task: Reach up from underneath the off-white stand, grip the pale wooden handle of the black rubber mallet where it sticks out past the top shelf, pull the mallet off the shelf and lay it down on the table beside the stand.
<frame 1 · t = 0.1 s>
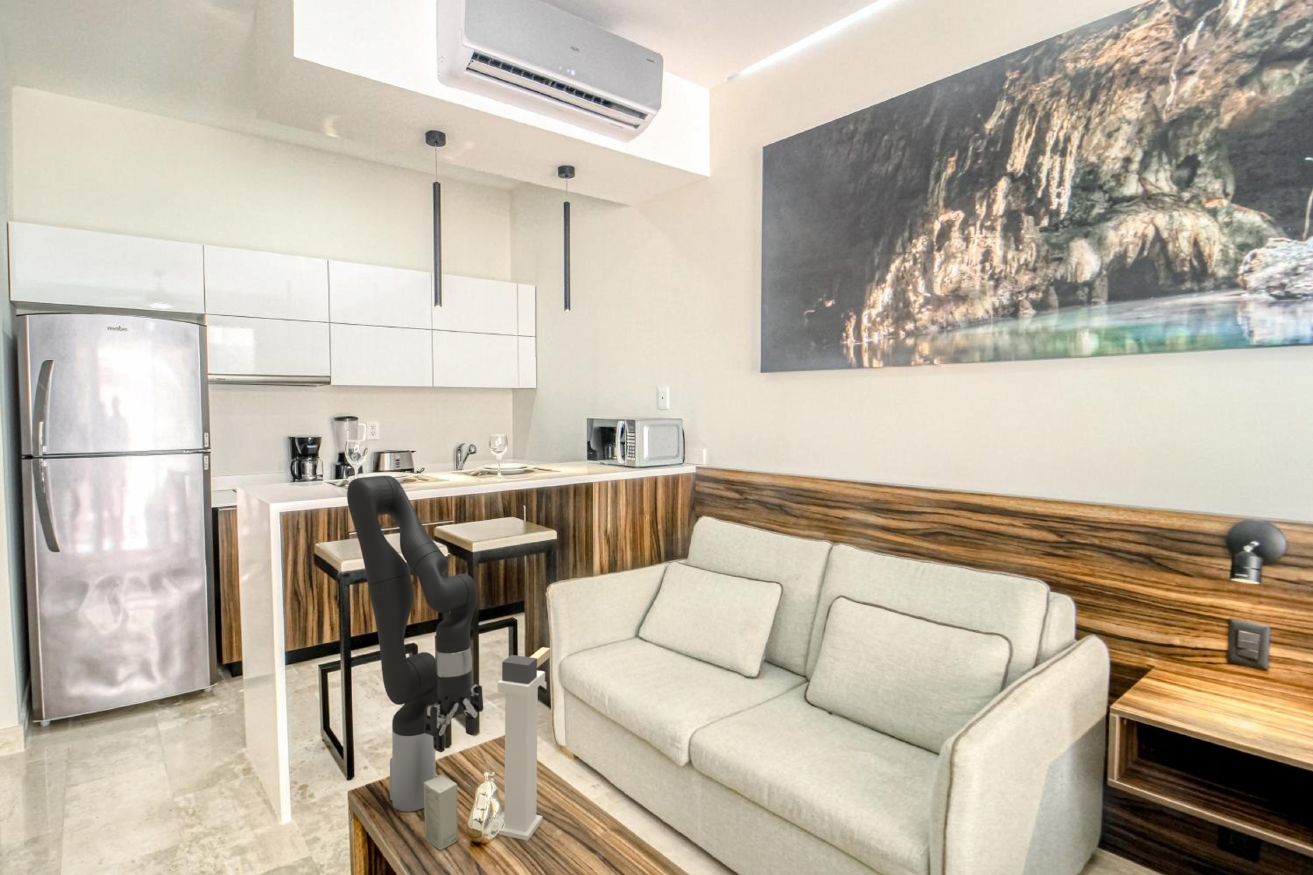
hand: (455, 742, 144), 17 cm above the table, tool pointing down, fingers open, 8 cm apart
rubber mallet: (531, 668, 145), point 33 cm above the table, touching pale stand
pale stand: (520, 827, 142), on the table
skincare box: (440, 840, 138), on the table
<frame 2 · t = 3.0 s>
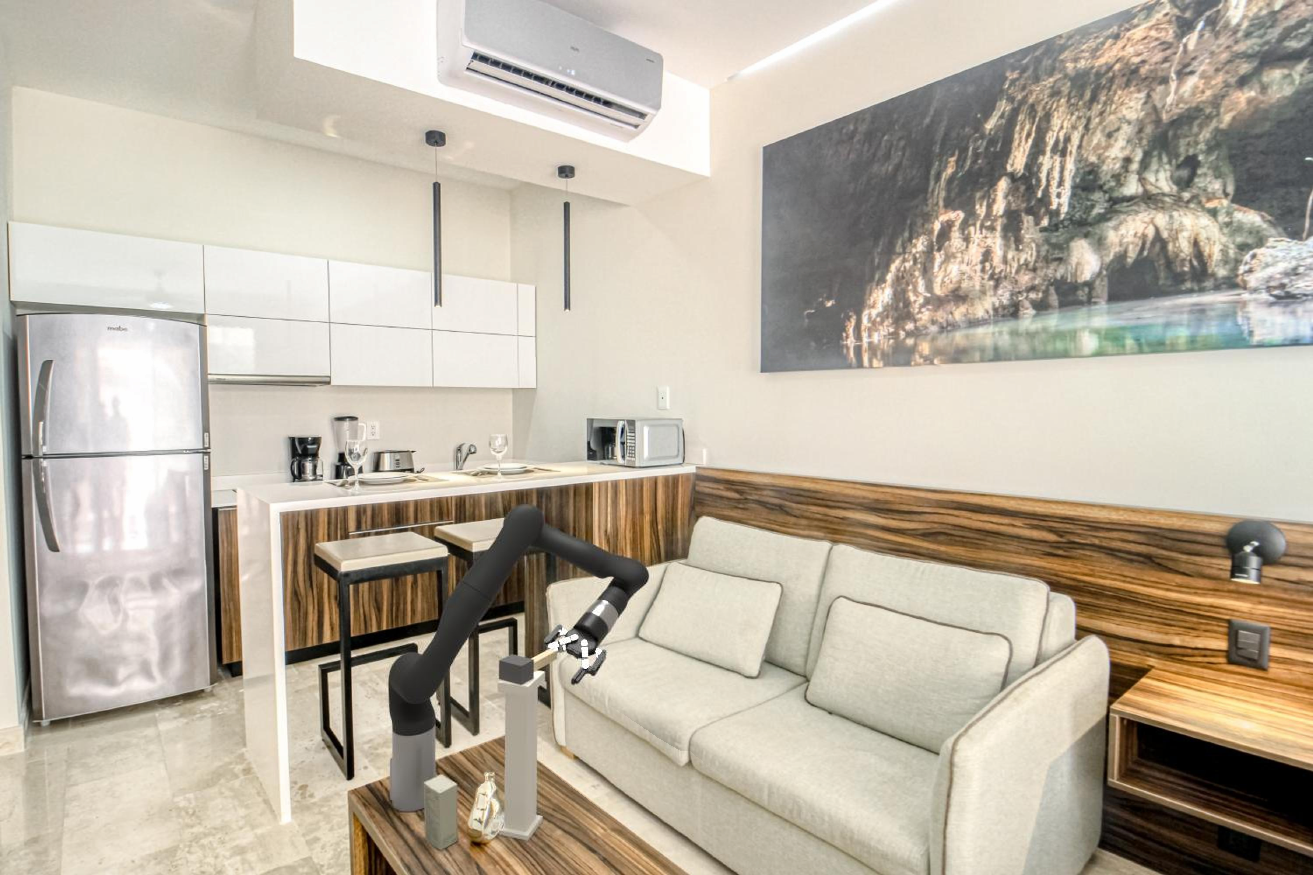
hand: (556, 673, 149), 30 cm above the table, tool tilted 60°, fingers open, 8 cm apart
rubber mallet: (532, 669, 144), point 33 cm above the table, touching gripper
everything else where it was.
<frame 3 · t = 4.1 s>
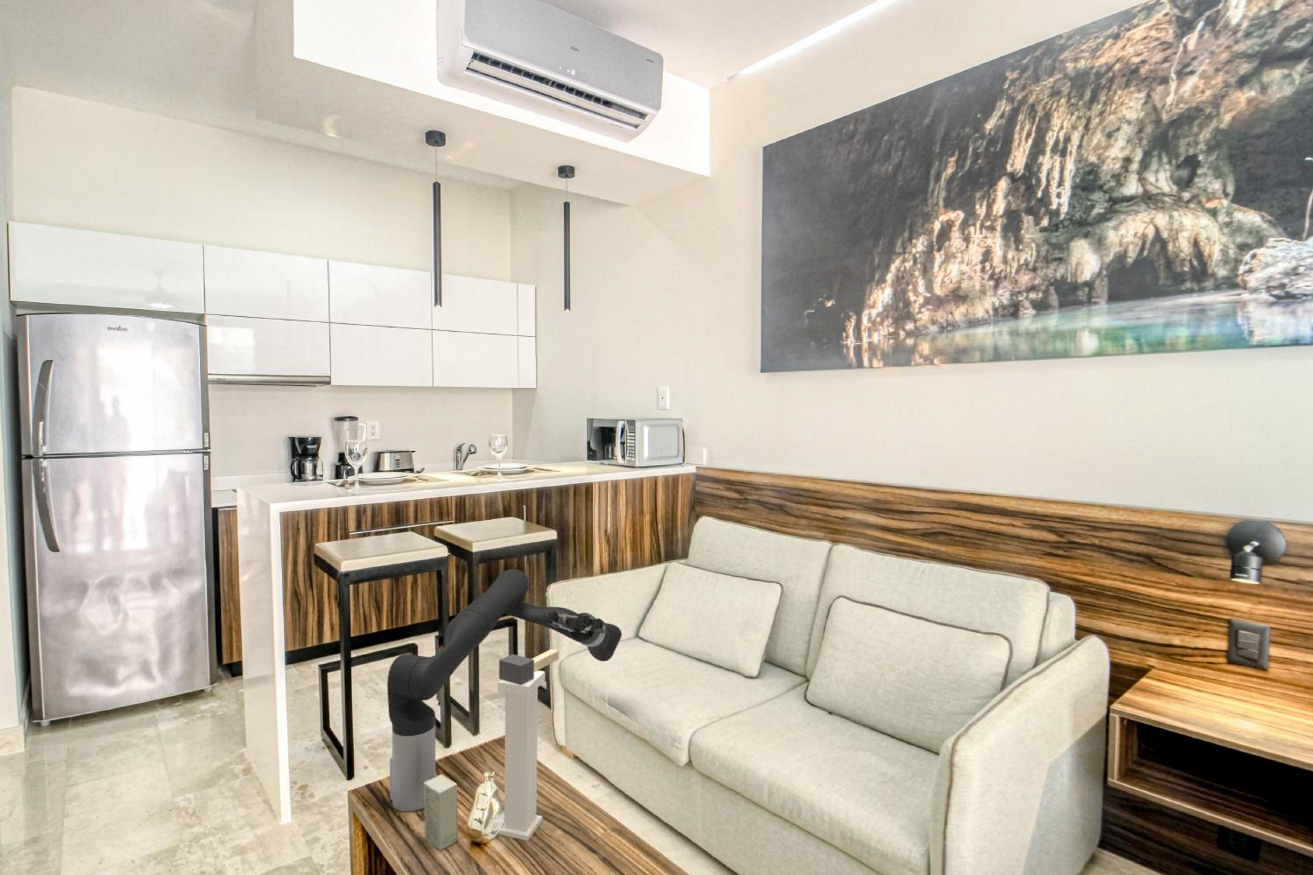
hand: (567, 616, 163), 38 cm above the table, tool pointing upward, fingers open, 8 cm apart
rubber mallet: (533, 669, 144), point 33 cm above the table, touching pale stand
everything else where it was.
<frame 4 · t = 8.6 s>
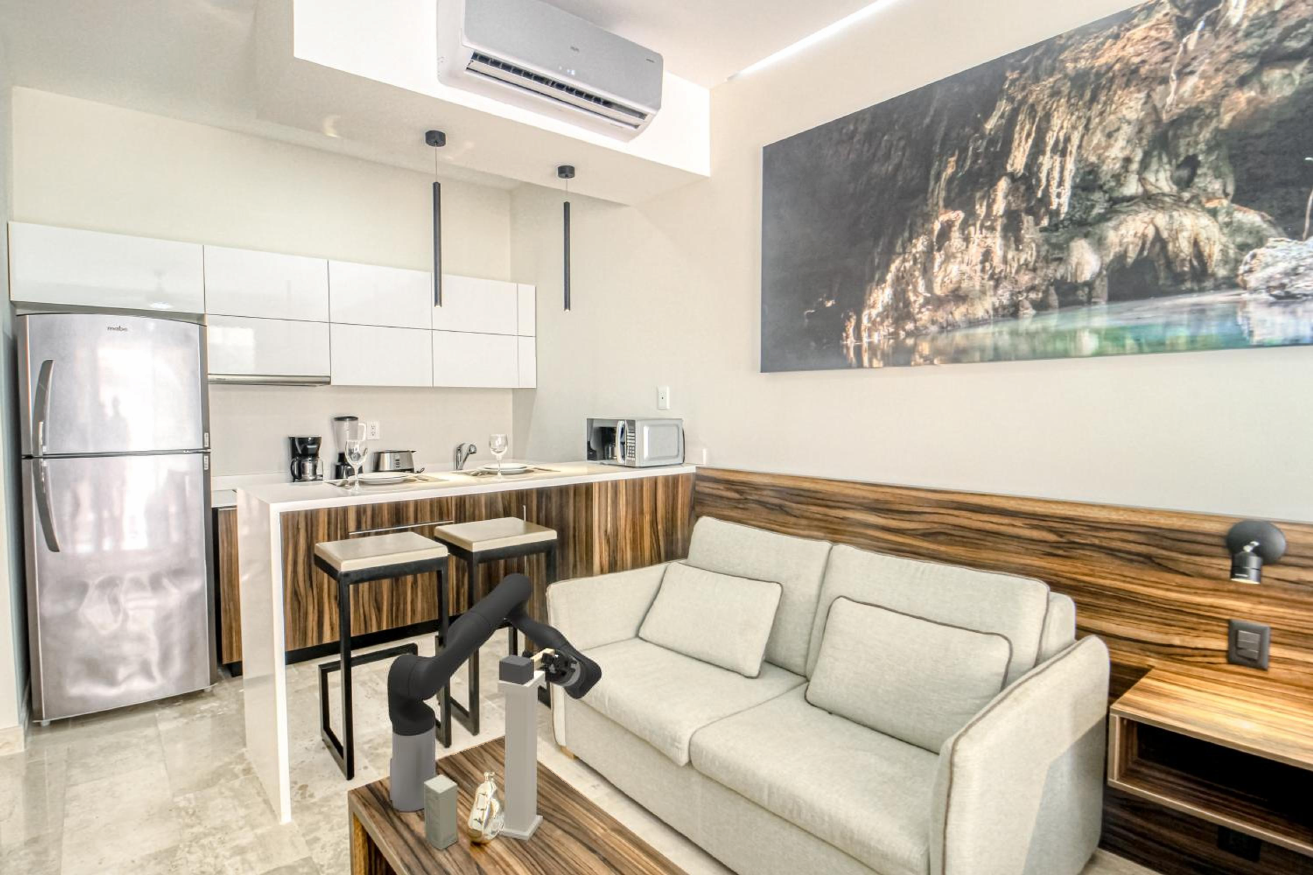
hand: (534, 656, 146), 35 cm above the table, tool pointing upward, fingers open, 4 cm apart
rubber mallet: (531, 669, 145), point 33 cm above the table
everything else where it was.
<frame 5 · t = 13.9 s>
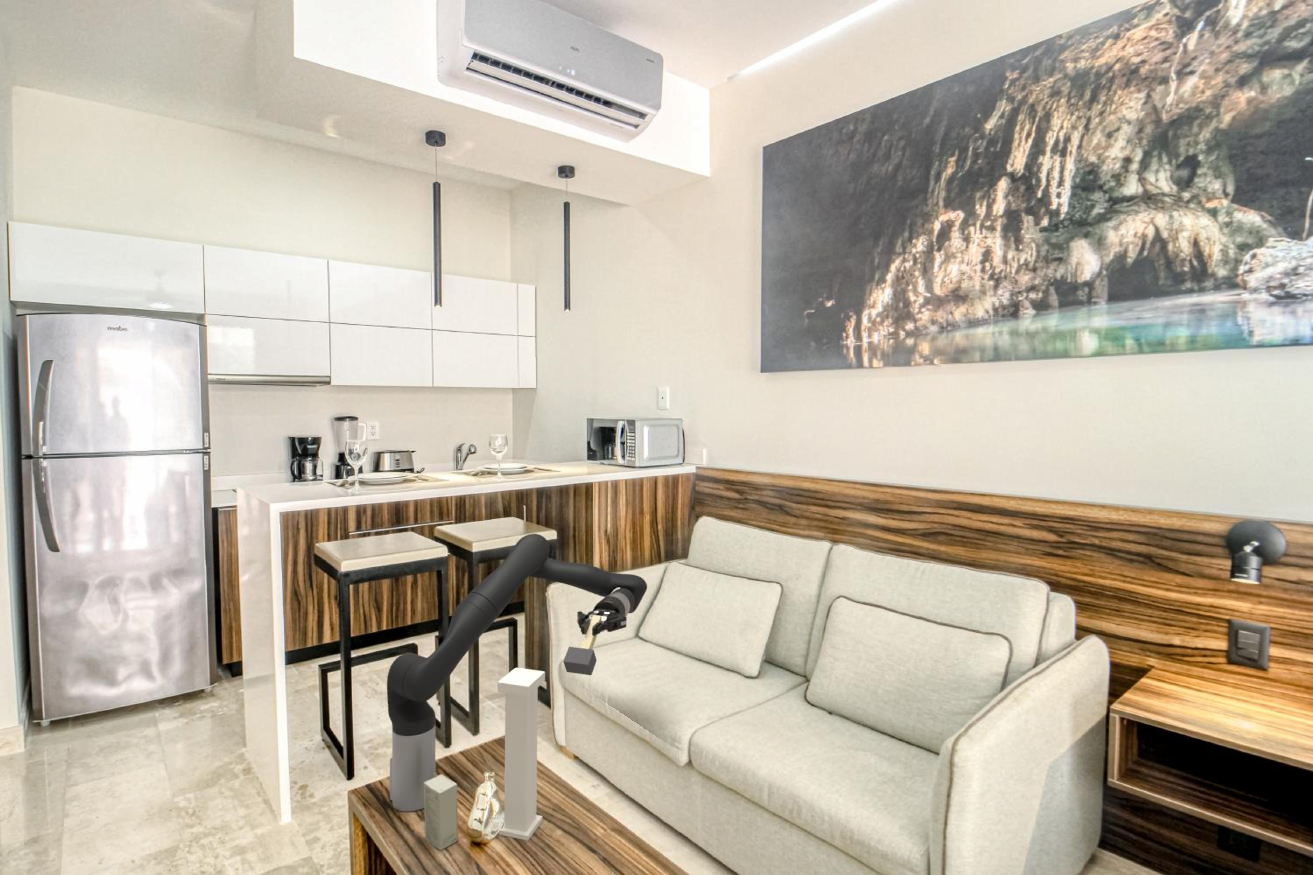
hand: (588, 630, 156), 38 cm above the table, tool horizontal, fingers closed on rubber mallet, 2 cm apart
rubber mallet: (589, 646, 157), point 34 cm above the table, tilted 34°, touching gripper
everything else where it was.
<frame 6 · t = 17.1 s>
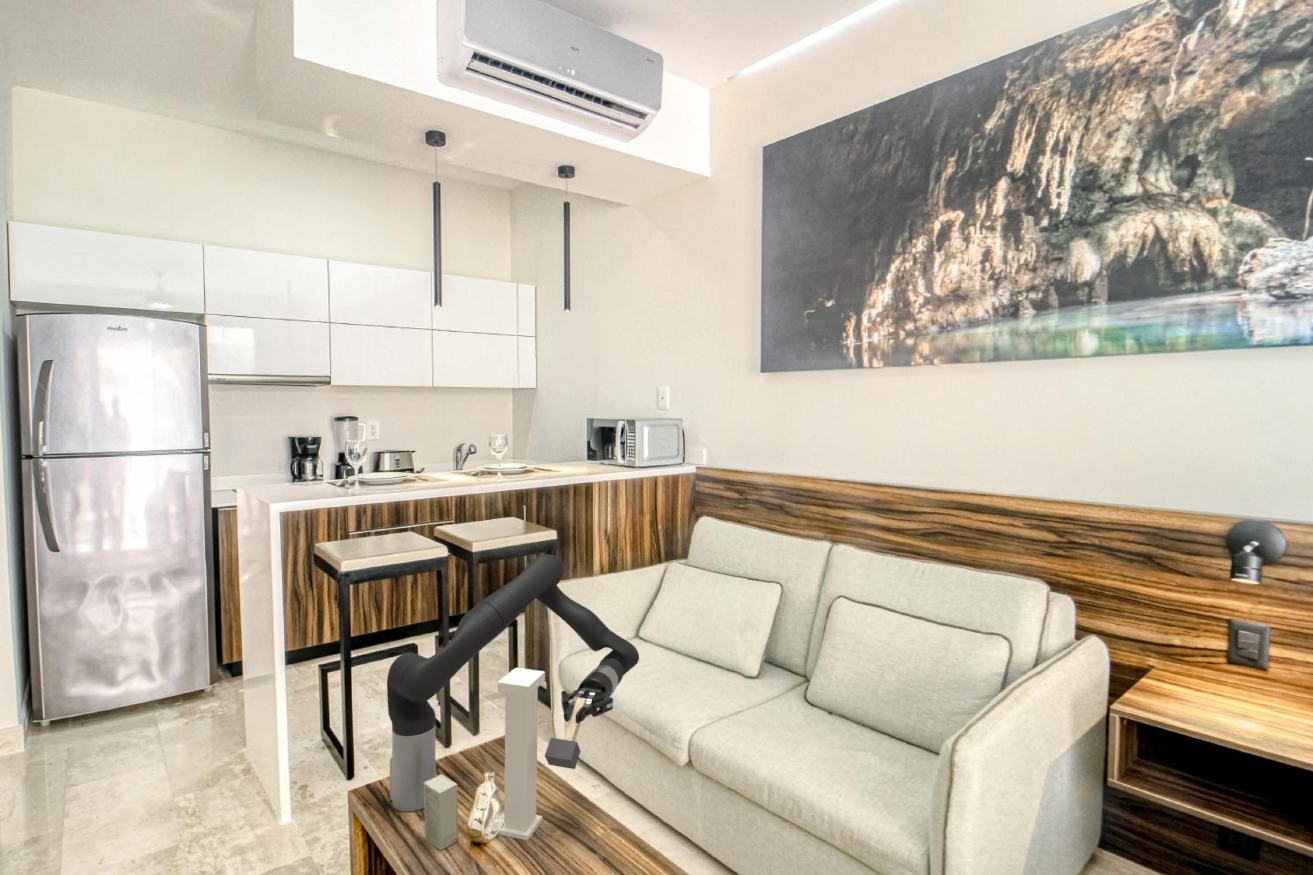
hand: (571, 718, 147), 21 cm above the table, tool horizontal, fingers closed on rubber mallet, 2 cm apart
rubber mallet: (573, 733, 148), point 17 cm above the table, tilted 36°, touching gripper
everything else where it was.
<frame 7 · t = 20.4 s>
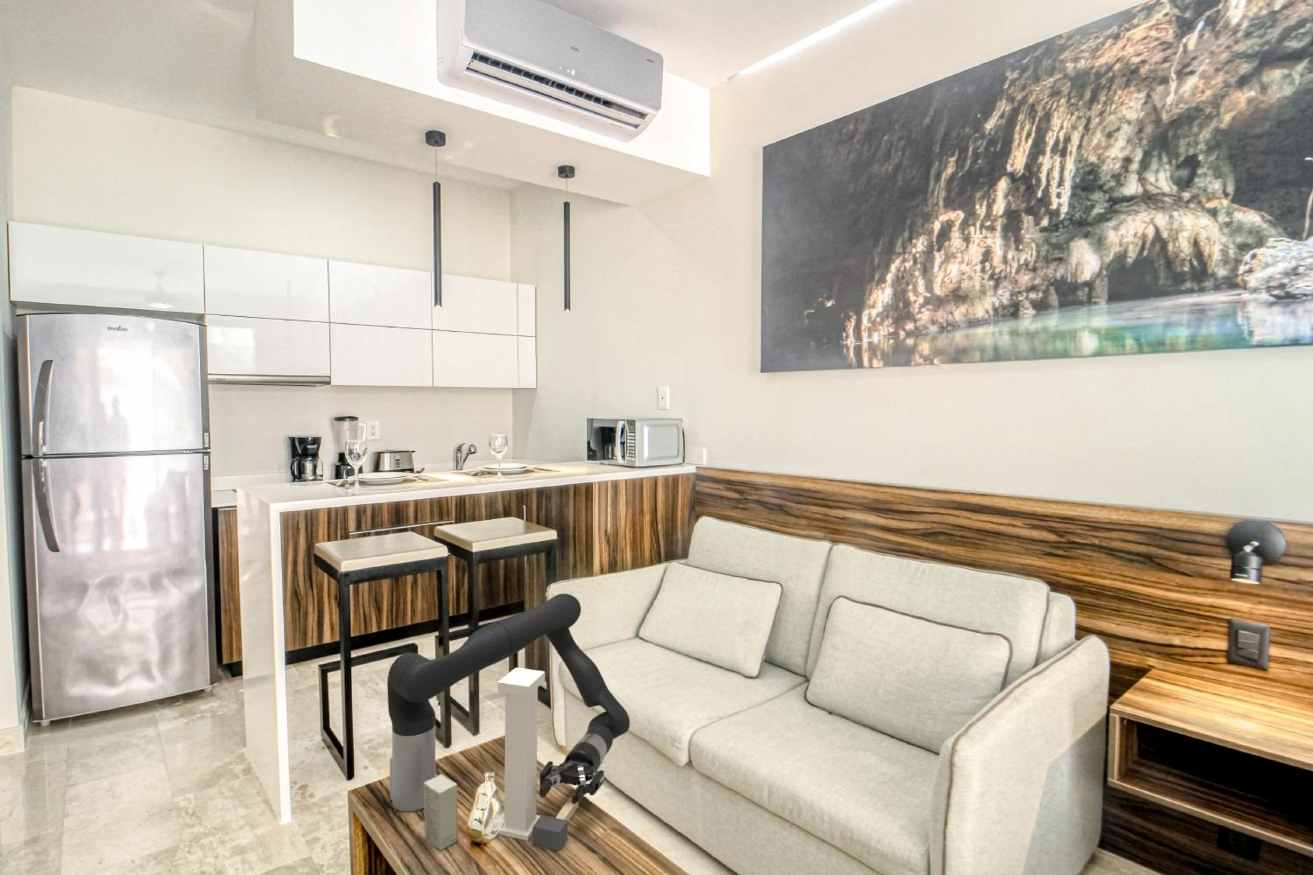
hand: (557, 796, 141), 8 cm above the table, tool horizontal, fingers open, 6 cm apart
rubber mallet: (560, 825, 143), on the table
everything else where it was.
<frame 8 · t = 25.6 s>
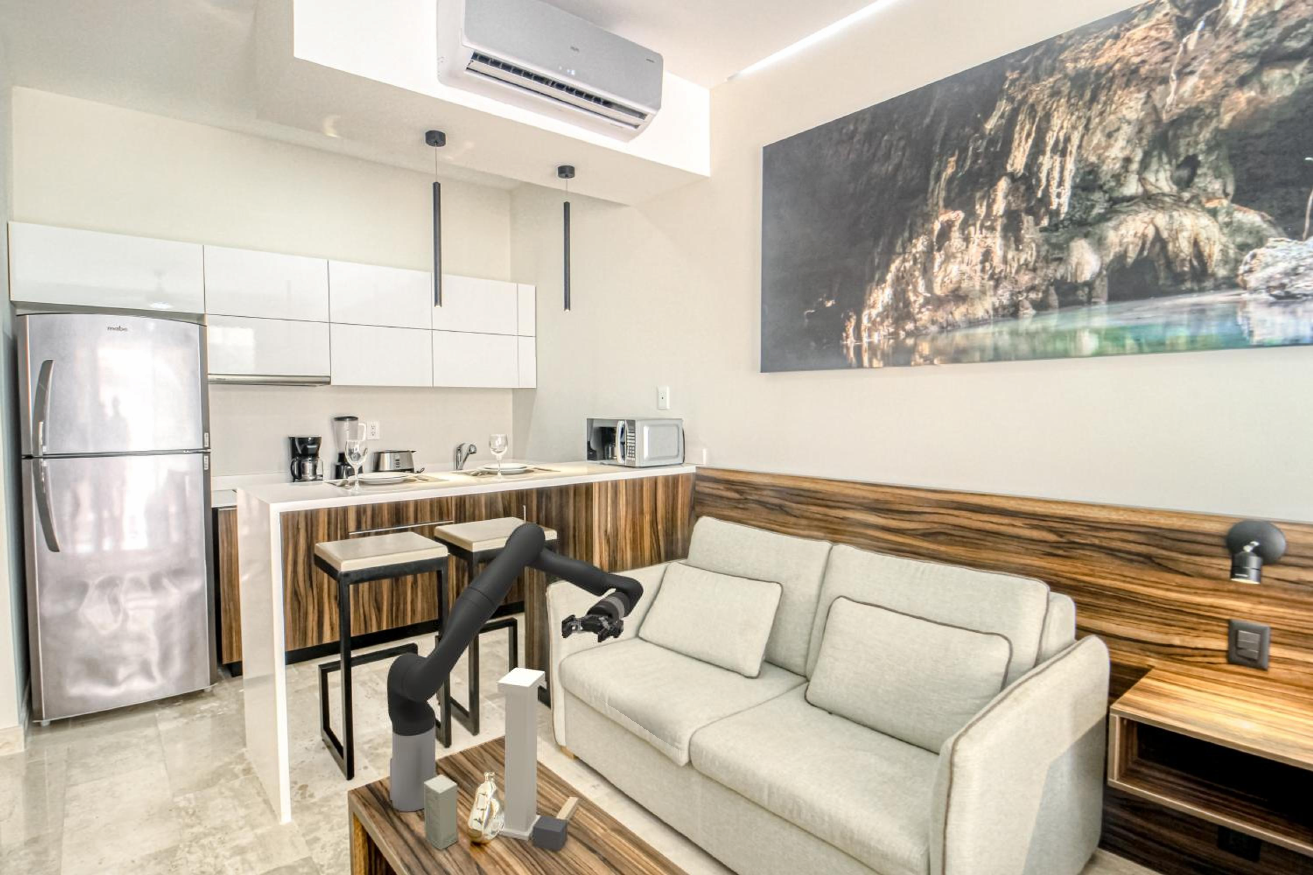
hand: (581, 636, 151), 38 cm above the table, tool horizontal, fingers open, 8 cm apart
nothing on the table moved.
at the end: rubber mallet inside the target area (1.7 cm from its centre), on the table; the gripper is holding nothing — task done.
